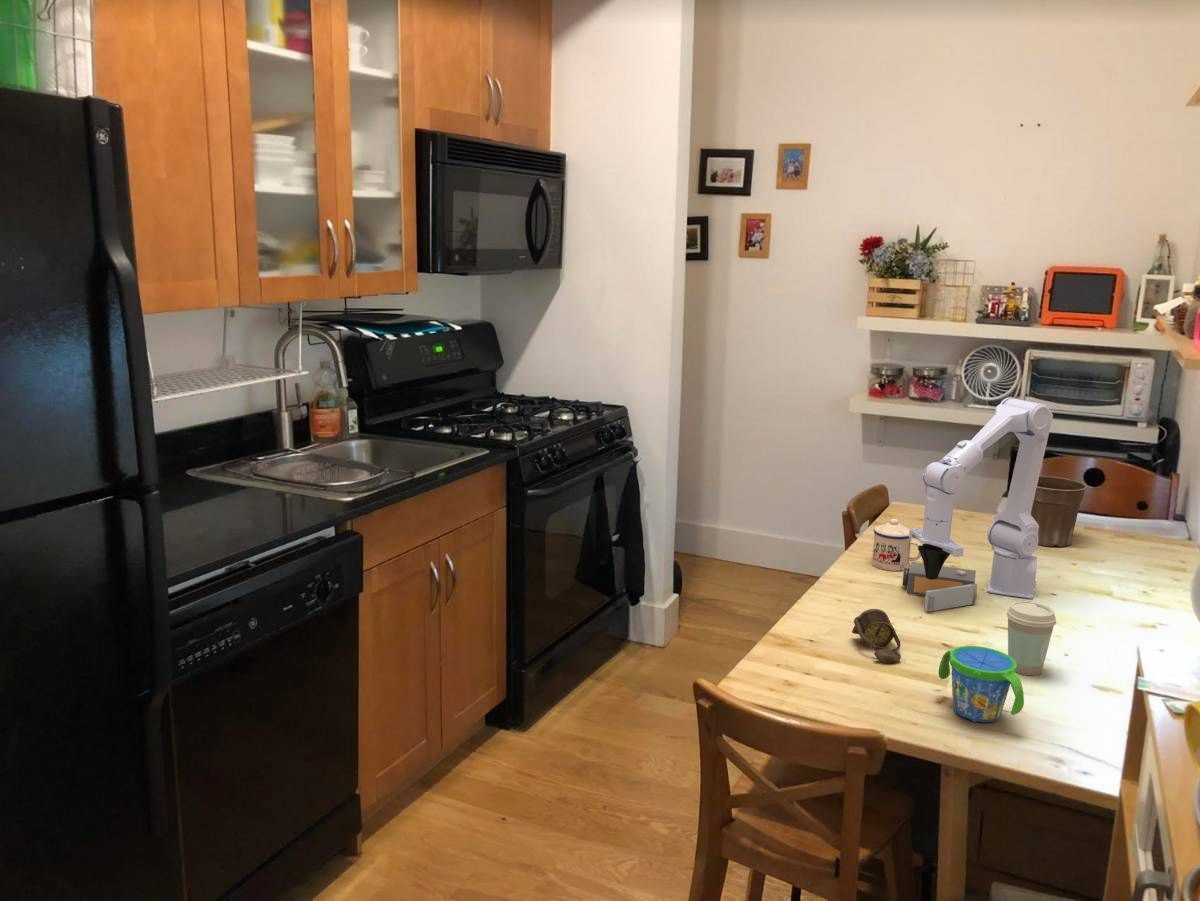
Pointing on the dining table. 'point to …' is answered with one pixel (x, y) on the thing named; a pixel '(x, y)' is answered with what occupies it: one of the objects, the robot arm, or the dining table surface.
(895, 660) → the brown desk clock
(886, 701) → the dining table surface
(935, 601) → the grey long bar
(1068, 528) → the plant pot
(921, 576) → the camera body
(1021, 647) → the coffee cup
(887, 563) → the teacup with lid
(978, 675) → the snack cup
